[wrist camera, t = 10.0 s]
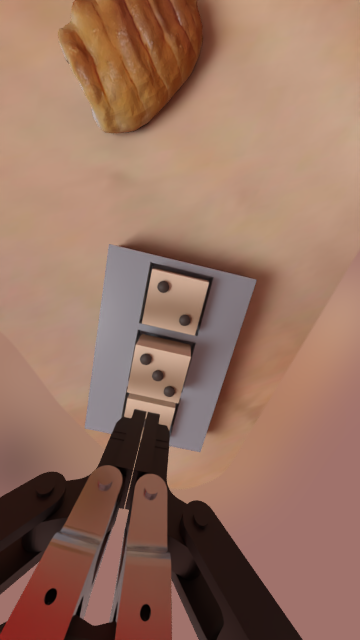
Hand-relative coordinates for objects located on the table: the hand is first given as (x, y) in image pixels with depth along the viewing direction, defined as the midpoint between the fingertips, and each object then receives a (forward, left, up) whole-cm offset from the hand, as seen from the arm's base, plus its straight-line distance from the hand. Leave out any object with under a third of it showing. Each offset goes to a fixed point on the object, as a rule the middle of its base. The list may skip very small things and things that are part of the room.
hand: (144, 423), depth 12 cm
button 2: (-6, 0, -9) cm, 11 cm away
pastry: (-21, -7, -11) cm, 25 cm away
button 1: (+6, 0, -9) cm, 11 cm away
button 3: (0, 0, -8) cm, 8 cm away
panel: (0, 0, -10) cm, 10 cm away
